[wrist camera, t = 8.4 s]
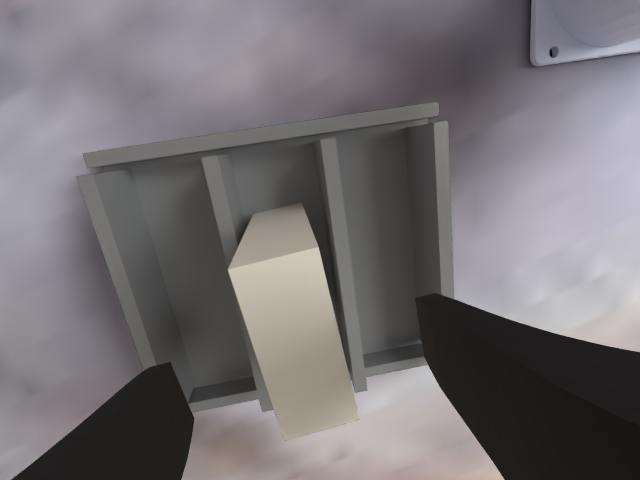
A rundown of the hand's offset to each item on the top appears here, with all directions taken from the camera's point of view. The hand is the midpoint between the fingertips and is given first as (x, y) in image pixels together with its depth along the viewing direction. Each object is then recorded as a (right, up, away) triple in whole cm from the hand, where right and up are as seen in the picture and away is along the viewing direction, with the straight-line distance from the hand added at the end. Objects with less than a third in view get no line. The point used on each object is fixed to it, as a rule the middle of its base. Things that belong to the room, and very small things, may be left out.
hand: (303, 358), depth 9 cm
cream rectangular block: (-1, +2, +8) cm, 8 cm away
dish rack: (-1, +2, +9) cm, 9 cm away
